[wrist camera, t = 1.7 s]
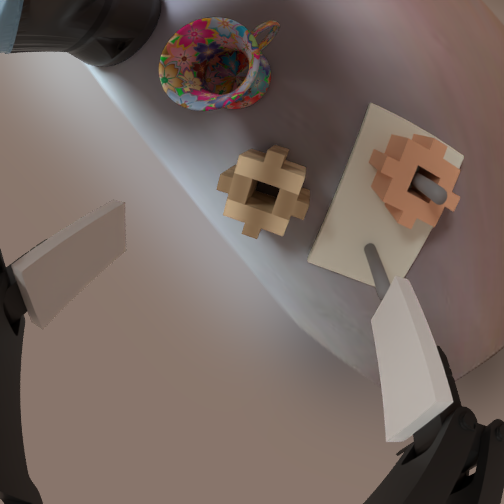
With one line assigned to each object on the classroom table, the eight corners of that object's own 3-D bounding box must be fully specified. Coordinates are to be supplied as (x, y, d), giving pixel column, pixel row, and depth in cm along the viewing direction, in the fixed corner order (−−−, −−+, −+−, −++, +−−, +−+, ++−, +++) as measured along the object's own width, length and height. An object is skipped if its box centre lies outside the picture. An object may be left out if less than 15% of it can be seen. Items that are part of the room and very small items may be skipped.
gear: (224, 205, 36) (208, 222, 31) (243, 134, 31) (229, 138, 26) (294, 230, 36) (290, 251, 30) (320, 160, 31) (323, 169, 25)
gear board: (307, 257, 37) (303, 309, 27) (369, 103, 26) (397, 96, 16) (391, 289, 36) (409, 342, 27) (459, 154, 25) (509, 174, 16)
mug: (230, 126, 31) (196, 131, 22) (187, 75, 28) (141, 64, 19) (310, 71, 26) (309, 50, 17) (262, 19, 23) (240, -17, 14)
